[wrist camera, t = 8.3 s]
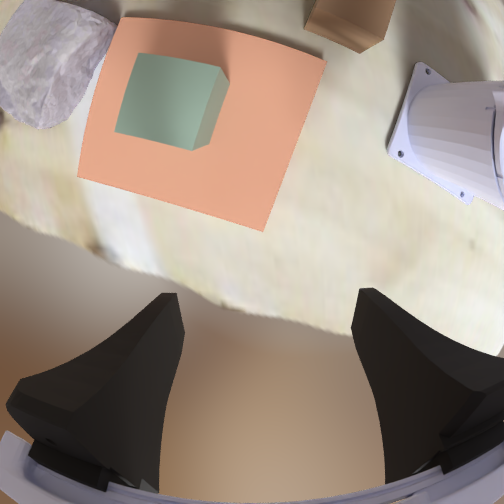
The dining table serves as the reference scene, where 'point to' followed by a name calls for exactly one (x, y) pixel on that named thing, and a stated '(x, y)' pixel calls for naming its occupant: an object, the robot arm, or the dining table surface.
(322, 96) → the dining table surface
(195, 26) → the terracotta tile
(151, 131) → the sage block
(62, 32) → the stone block
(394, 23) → the dining table surface
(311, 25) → the walnut cube
